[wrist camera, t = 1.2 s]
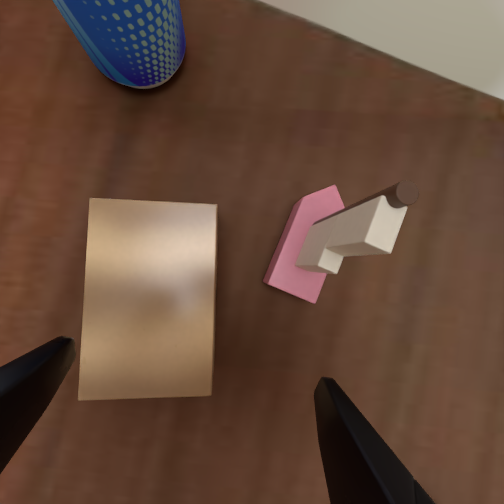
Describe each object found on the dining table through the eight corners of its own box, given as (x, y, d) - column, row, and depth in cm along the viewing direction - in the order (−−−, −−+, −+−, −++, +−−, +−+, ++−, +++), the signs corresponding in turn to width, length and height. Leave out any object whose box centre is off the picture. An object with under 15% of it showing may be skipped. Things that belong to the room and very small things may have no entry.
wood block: (213, 370, 22) (211, 396, 18) (108, 372, 21) (77, 400, 17) (218, 215, 23) (217, 203, 19) (116, 211, 22) (89, 197, 18)
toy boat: (304, 299, 24) (405, 343, 10) (262, 281, 23) (311, 304, 10) (342, 202, 24) (479, 132, 11) (302, 184, 24) (395, 89, 11)
